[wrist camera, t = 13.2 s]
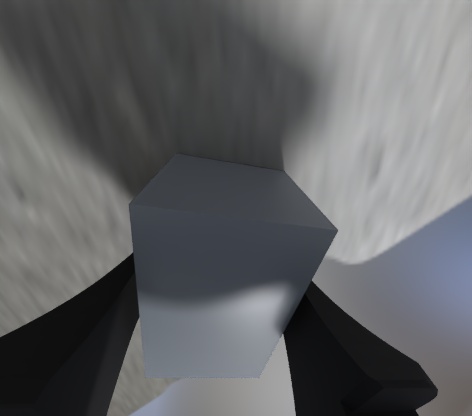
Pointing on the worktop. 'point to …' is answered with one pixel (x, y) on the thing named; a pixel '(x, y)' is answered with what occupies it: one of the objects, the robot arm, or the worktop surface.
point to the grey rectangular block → (221, 265)
